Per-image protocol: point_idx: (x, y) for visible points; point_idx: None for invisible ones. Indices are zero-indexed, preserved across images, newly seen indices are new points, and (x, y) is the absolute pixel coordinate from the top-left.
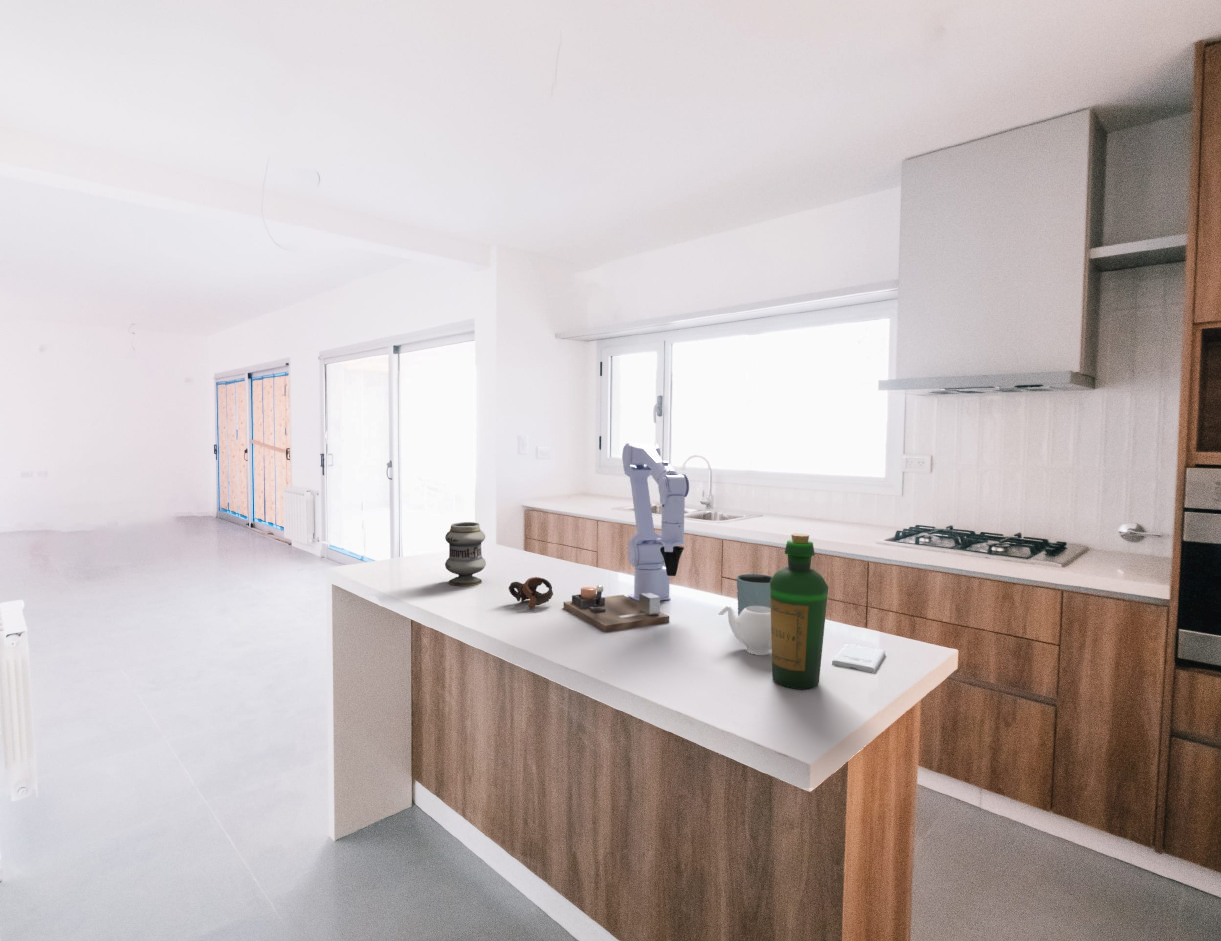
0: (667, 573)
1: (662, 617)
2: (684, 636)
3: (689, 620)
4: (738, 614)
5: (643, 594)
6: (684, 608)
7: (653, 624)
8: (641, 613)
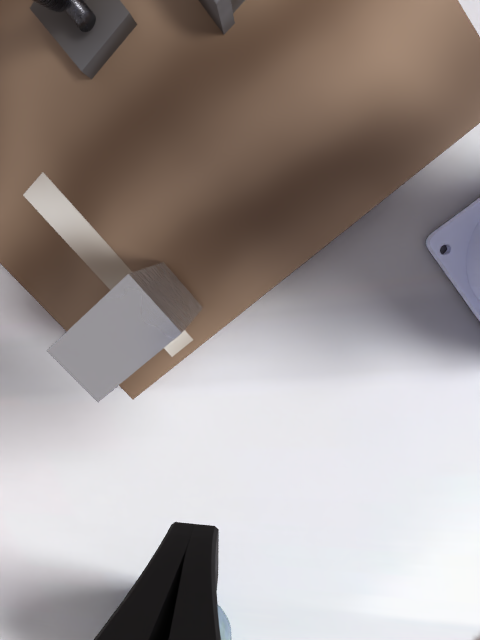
0: (164, 539)
1: None
2: (4, 441)
3: (190, 454)
4: None
5: (115, 303)
6: (361, 435)
7: None
8: None
